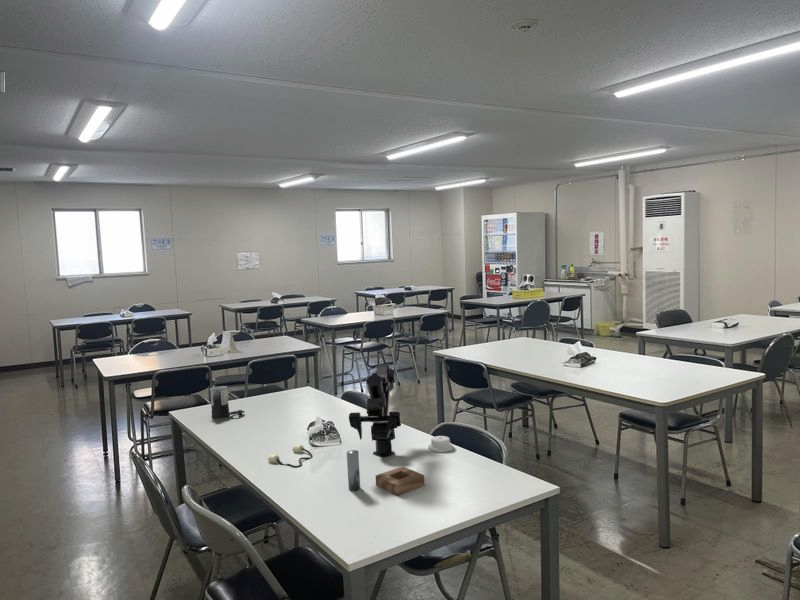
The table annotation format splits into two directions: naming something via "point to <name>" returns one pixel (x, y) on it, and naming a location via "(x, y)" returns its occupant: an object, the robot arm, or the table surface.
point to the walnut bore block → (400, 480)
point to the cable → (296, 449)
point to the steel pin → (353, 470)
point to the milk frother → (221, 402)
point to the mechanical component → (440, 444)
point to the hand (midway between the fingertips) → (373, 438)
